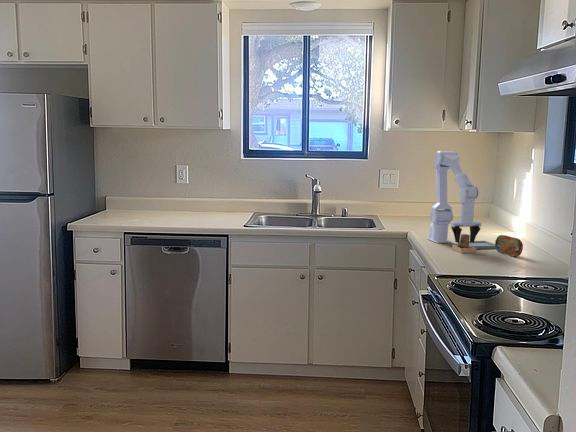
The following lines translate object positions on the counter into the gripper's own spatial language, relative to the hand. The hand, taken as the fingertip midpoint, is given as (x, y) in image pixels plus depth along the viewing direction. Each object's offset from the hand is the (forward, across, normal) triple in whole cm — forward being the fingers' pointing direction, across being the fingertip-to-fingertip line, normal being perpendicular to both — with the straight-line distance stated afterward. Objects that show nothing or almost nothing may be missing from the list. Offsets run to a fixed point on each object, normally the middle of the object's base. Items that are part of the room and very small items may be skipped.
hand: (464, 242), depth 260 cm
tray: (+4, +13, +8) cm, 16 cm away
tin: (+4, +17, -9) cm, 20 cm away
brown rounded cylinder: (+4, 0, 0) cm, 4 cm away
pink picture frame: (+4, 0, 0) cm, 4 cm away
